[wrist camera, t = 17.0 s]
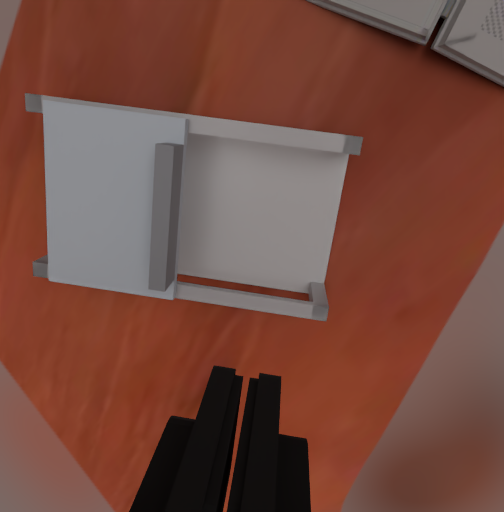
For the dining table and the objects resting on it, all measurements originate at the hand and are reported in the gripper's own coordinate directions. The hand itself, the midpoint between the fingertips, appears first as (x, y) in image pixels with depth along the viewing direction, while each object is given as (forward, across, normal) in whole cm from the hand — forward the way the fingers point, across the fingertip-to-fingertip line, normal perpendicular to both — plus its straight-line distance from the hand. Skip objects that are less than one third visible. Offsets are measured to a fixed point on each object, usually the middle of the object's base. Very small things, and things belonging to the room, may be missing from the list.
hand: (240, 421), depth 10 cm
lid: (+21, +12, 0) cm, 24 cm away
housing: (+27, +7, 0) cm, 28 cm away
